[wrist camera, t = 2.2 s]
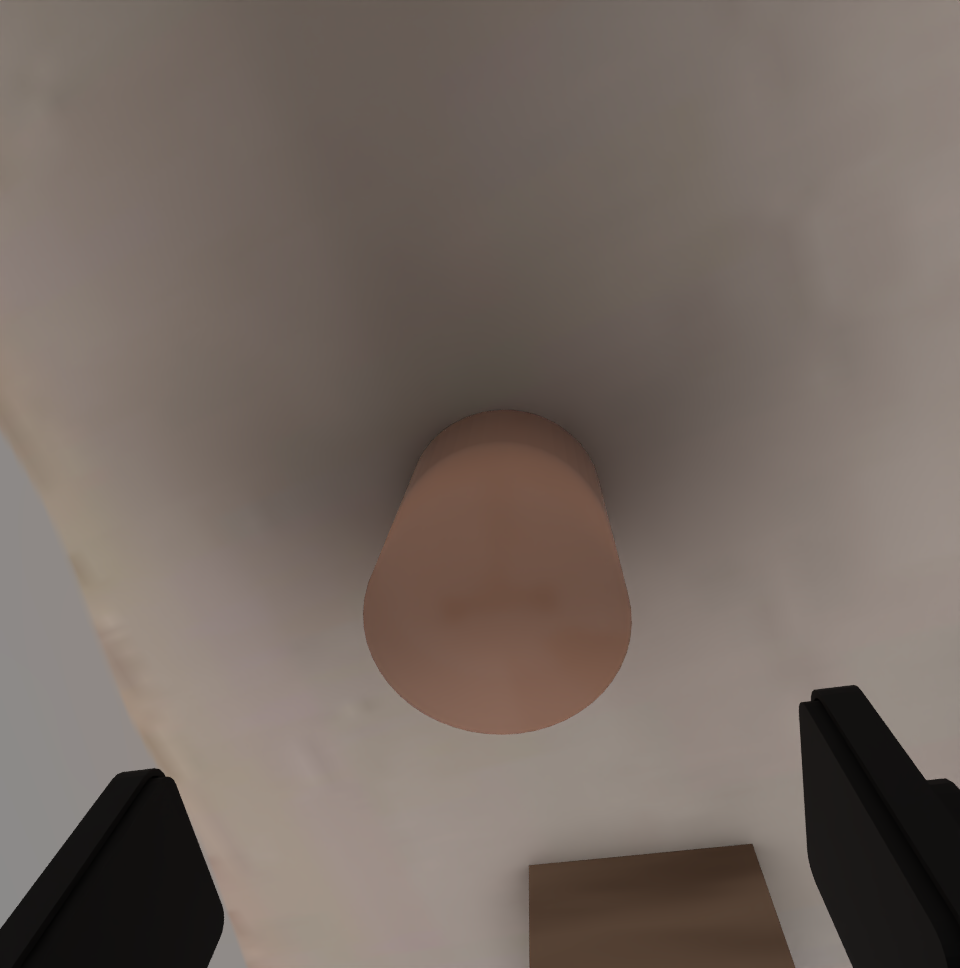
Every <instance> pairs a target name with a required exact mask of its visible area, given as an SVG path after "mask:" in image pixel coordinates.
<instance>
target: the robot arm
mask: <svg viewBox="0 0 960 968" xmlns="http://www.w3.org/2000/svg"><path fill="white" fill-rule="evenodd" d="M799 720H800V737H801V754H802V770H803V787H804V804H805V820H806V837H807V852H808V859H809V863H810V867H811V871H812V874H813V877H814V880H815V882H816V885H817V887H818V889H819V891H820V894H821V896H822V898H823V900H824V903H825V905H826V907H827V910H828V912H829V914H830V916H831V919H832V921H833V923H834V925H835V928H836V930H837V932H838V934H839V937H840V939H841V941H842V944H843V946H844V948H845V950H846V953H847V955H848V957H849V959H850V962H851V964H852V966H853V968H960V789H959V788H958V787H957V786H956V785H955V784H954V783H953V782H951V781H949V780H948V779H946V778H945V779H935V780H926V779H925V778H924V777H923V775H922V774H921V772H920V771H919V770H918V768H917V767H916V766H915V764H914V763H913V761H912V760H911V759H910V757H909V756H908V754H907V753H906V752H905V750H904V749H903V748H902V746H901V745H900V743H899V742H898V741H897V739H896V738H895V736H894V735H893V734H892V732H891V731H890V730H889V728H888V727H887V725H886V724H885V723H884V721H883V720H882V718H881V717H880V716H879V714H878V713H877V712H876V710H875V709H874V707H873V706H872V705H871V703H870V702H869V700H868V699H867V698H866V696H865V695H864V694H863V692H862V691H861V690H860V689H859V688H858V686H855V685H851V686H842V687H834V688H825V689H817V690H814V691H812V695H811V701H808V702H801V703H800V705H799ZM223 925H224V911H223V907H222V904H221V901H220V899H219V896H218V893H217V891H216V888H215V885H214V883H213V880H212V878H211V875H210V872H209V870H208V867H207V864H206V862H205V859H204V857H203V854H202V851H201V849H200V846H199V843H198V841H197V838H196V836H195V833H194V830H193V828H192V825H191V822H190V820H189V817H188V815H187V812H186V809H185V807H184V804H183V801H182V799H181V796H180V794H179V791H178V788H177V786H176V783H175V782H174V780H173V779H172V778H171V777H165V775H164V773H163V772H162V771H161V770H160V769H155V768H153V769H145V770H137V771H129V772H122V773H119V774H117V775H116V776H115V777H114V778H113V779H112V781H111V782H110V783H109V784H108V786H107V787H106V788H105V790H104V791H103V793H102V794H101V795H100V796H99V798H98V799H97V800H96V802H95V803H94V805H93V806H92V807H91V808H90V810H89V811H88V812H87V814H86V815H85V816H84V818H83V819H82V821H81V822H80V823H79V825H78V826H77V827H76V829H75V830H74V831H73V833H72V834H71V835H70V837H69V838H68V840H67V841H66V842H65V843H64V845H63V846H62V847H61V849H60V850H59V851H58V853H57V854H56V855H55V857H54V858H53V859H52V861H51V862H50V863H49V865H48V866H47V867H46V869H45V870H44V871H43V873H42V874H41V875H40V877H39V878H38V879H37V881H36V882H35V883H34V885H33V886H32V887H31V889H30V890H29V891H28V893H27V894H26V895H25V897H24V898H23V899H22V901H21V902H20V903H19V905H18V906H17V907H16V909H15V910H14V911H13V913H12V914H11V916H10V917H9V918H8V919H7V921H6V922H5V924H4V925H3V926H2V927H1V929H0V968H207V967H208V965H209V962H210V960H211V958H212V955H213V953H214V950H215V948H216V946H217V944H218V941H219V939H220V937H221V934H222V930H223Z"/></svg>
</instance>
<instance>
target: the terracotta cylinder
mask: <svg viewBox="0 0 960 968" xmlns="http://www.w3.org/2000/svg"><path fill="white" fill-rule="evenodd" d="M363 618H364V630H365V635H366V640H367V644H368V647H369V650H370V652H371V655H372V658H373V659H374V661H375V663H376V665H377V667H378V669H379V671H380V672H381V674H382V675H383V677H384V678H385V679H386V681H387V682H388V683H389V685H390V686H391V687H392V688H393V689H394V690H395V691H396V692H397V693H398V694H399V695H400V696H401V697H402V698H403V699H404V700H406V701H407V702H408V703H409V704H410V705H412V706H413V707H415V708H416V709H418V710H419V711H421V712H422V713H424V714H425V715H427V716H429V717H431V718H433V719H435V720H437V721H439V722H442V723H444V724H447V725H450V726H452V727H455V728H459V729H463V730H467V731H471V732H478V733H484V734H519V733H525V732H531V731H536V730H539V729H543V728H546V727H550V726H552V725H555V724H557V723H560V722H562V721H564V720H566V719H568V718H570V717H572V716H574V715H575V714H577V713H579V712H580V711H582V710H583V709H584V708H586V707H587V706H589V705H590V704H591V703H592V702H593V701H595V700H596V699H597V698H598V697H599V696H600V695H601V694H602V693H603V692H604V691H605V689H606V688H607V687H608V686H609V684H610V683H611V682H612V681H613V679H614V677H615V676H616V674H617V672H618V671H619V669H620V667H621V665H622V663H623V660H624V658H625V656H626V653H627V649H628V645H629V641H630V635H631V625H632V621H631V607H630V602H629V597H628V592H627V589H626V585H625V581H624V577H623V573H622V569H621V565H620V561H619V557H618V553H617V549H616V545H615V541H614V537H613V533H612V529H611V526H610V522H609V518H608V514H607V510H606V506H605V502H604V498H603V494H602V490H601V486H600V482H599V478H598V475H597V472H596V470H595V467H594V464H593V463H592V461H591V459H590V457H589V455H588V454H587V452H586V451H585V450H584V448H583V447H582V445H581V444H580V443H579V442H578V441H577V440H576V439H575V438H574V437H573V436H572V435H571V434H570V433H568V432H567V431H566V430H565V429H563V428H562V427H560V426H559V425H557V424H555V423H554V422H552V421H550V420H548V419H545V418H543V417H541V416H538V415H535V414H531V413H528V412H522V411H516V410H494V411H486V412H482V413H477V414H474V415H471V416H468V417H466V418H463V419H461V420H459V421H457V422H455V423H454V424H452V425H450V426H449V427H447V428H446V429H445V430H443V431H442V432H441V433H440V434H439V435H437V436H436V437H435V438H434V439H433V440H432V441H431V443H430V444H429V445H428V446H427V448H426V449H425V450H424V452H423V453H422V455H421V457H420V458H419V460H418V463H417V465H416V467H415V470H414V472H413V475H412V477H411V479H410V482H409V484H408V487H407V489H406V492H405V494H404V497H403V499H402V502H401V504H400V507H399V509H398V511H397V514H396V516H395V519H394V521H393V524H392V526H391V529H390V531H389V534H388V536H387V538H386V541H385V543H384V546H383V548H382V551H381V553H380V556H379V558H378V561H377V563H376V565H375V568H374V570H373V573H372V575H371V578H370V580H369V583H368V587H367V590H366V594H365V600H364V610H363Z"/></svg>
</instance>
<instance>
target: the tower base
mask: <svg viewBox="0 0 960 968" xmlns="http://www.w3.org/2000/svg"><path fill="white" fill-rule="evenodd" d="M529 957H530V968H795V965H794V962H793V960H792V957H791V954H790V951H789V948H788V945H787V942H786V939H785V937H784V934H783V931H782V928H781V925H780V922H779V919H778V916H777V914H776V911H775V908H774V905H773V902H772V899H771V896H770V893H769V891H768V888H767V885H766V882H765V879H764V876H763V873H762V870H761V868H760V865H759V862H758V859H757V856H756V853H755V850H754V847H753V845H752V844H746V845H736V846H725V847H715V848H705V849H694V850H684V851H674V852H663V853H653V854H643V855H632V856H622V857H612V858H601V859H591V860H580V861H570V862H560V863H549V864H539V865H529Z"/></svg>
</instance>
